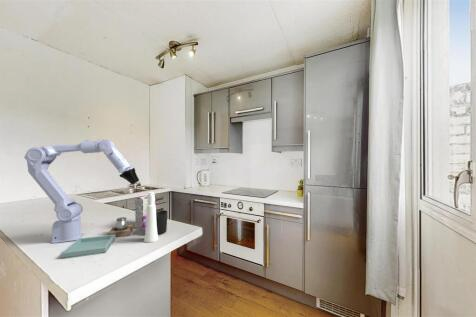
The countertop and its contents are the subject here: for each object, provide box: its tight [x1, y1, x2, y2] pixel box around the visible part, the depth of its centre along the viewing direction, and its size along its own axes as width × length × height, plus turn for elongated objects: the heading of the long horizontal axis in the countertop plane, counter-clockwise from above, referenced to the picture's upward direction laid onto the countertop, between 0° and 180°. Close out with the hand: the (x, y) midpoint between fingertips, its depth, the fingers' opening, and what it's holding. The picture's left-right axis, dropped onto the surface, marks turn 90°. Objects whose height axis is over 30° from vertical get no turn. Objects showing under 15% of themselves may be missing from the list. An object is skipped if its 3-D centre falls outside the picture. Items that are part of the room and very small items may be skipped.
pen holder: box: [156, 209, 168, 236], centre depth 96 cm, size 9×9×10 cm
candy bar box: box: [134, 194, 148, 230], centre depth 107 cm, size 11×5×16 cm, turn 168°
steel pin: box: [116, 216, 127, 231], centre depth 95 cm, size 4×4×8 cm
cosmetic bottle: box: [143, 191, 159, 244], centre depth 87 cm, size 6×6×22 cm
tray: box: [61, 234, 117, 260], centre depth 80 cm, size 14×14×2 cm
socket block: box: [107, 224, 134, 238], centre depth 95 cm, size 9×9×2 cm
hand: (136, 182), depth 97 cm, fingers open, 7 cm apart
